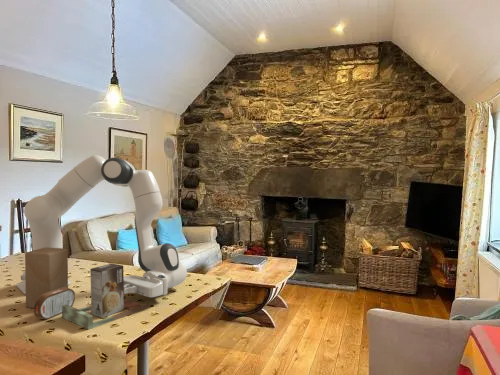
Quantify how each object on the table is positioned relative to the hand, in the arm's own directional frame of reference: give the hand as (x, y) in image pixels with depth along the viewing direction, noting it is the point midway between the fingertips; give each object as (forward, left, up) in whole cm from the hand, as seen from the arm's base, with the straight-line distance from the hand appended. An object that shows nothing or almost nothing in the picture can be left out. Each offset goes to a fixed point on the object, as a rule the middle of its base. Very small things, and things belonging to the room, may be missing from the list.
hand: (121, 290), depth 136 cm
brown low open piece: (0, -6, -6) cm, 8 cm away
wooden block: (-24, -15, -6) cm, 29 cm away
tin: (-12, -18, -6) cm, 22 cm away
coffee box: (0, -6, -6) cm, 8 cm away
